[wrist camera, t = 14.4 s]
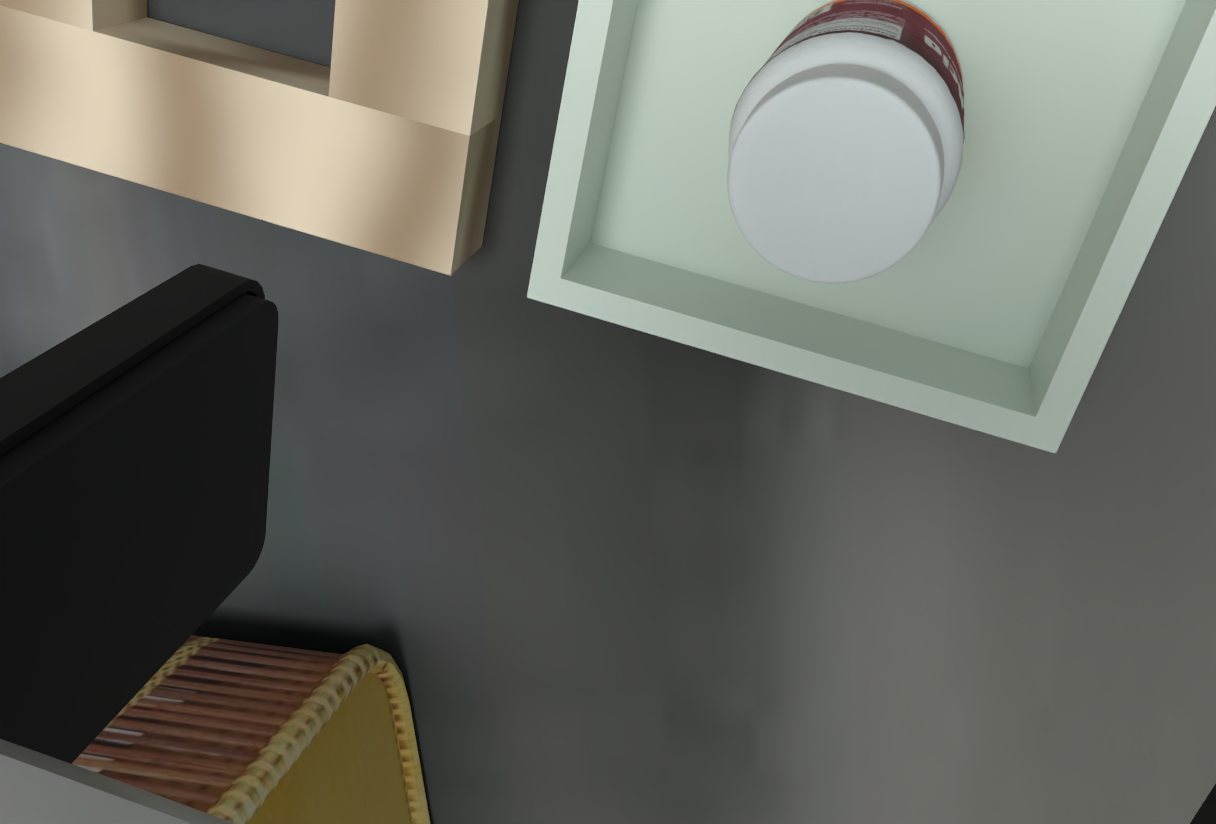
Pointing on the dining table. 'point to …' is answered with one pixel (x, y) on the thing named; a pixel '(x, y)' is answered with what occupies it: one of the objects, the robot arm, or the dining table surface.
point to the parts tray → (955, 241)
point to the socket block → (277, 115)
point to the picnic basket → (271, 736)
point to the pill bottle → (848, 140)
